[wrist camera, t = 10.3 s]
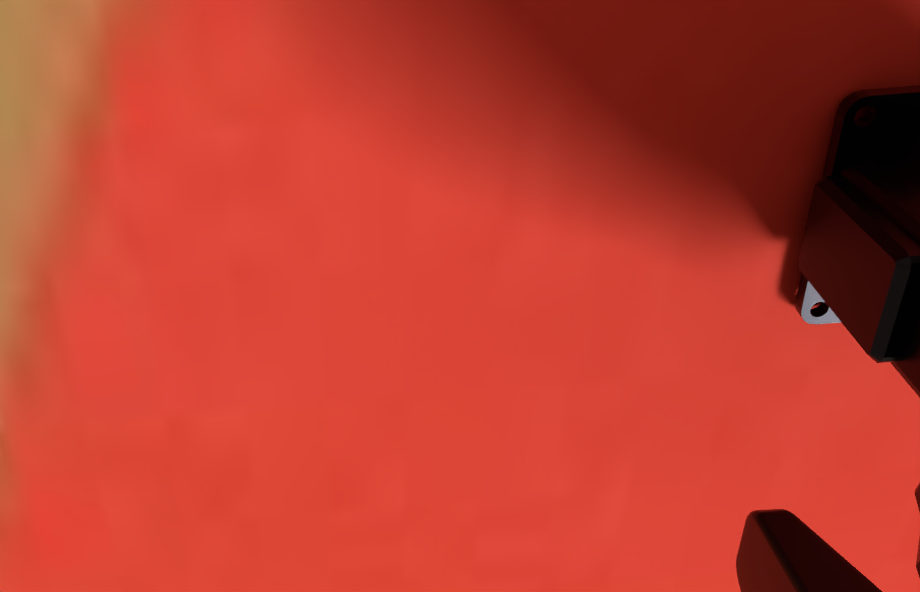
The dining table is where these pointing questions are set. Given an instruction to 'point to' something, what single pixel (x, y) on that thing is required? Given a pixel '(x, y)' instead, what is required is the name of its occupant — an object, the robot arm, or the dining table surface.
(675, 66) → the dining table surface
